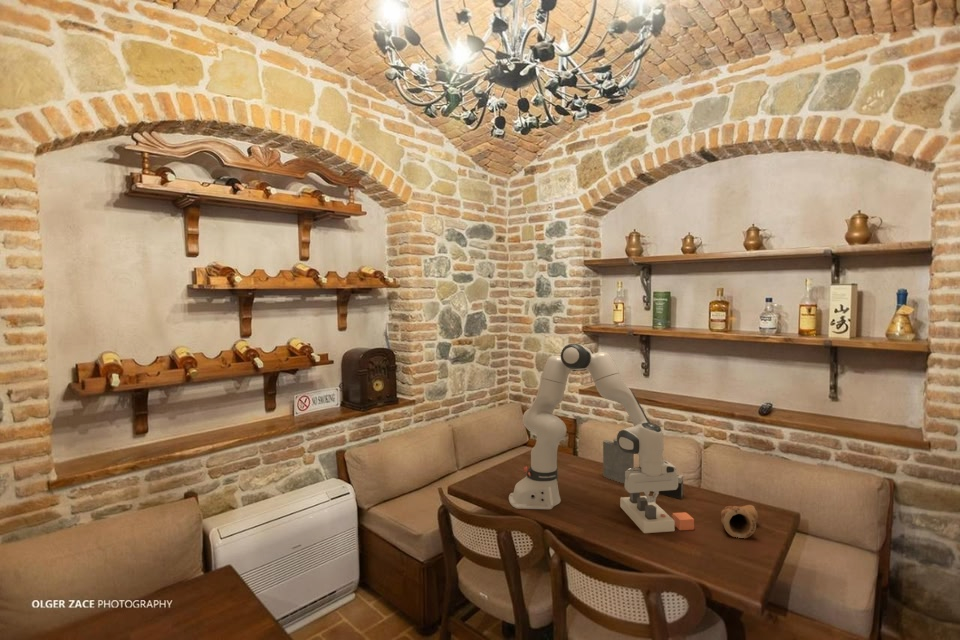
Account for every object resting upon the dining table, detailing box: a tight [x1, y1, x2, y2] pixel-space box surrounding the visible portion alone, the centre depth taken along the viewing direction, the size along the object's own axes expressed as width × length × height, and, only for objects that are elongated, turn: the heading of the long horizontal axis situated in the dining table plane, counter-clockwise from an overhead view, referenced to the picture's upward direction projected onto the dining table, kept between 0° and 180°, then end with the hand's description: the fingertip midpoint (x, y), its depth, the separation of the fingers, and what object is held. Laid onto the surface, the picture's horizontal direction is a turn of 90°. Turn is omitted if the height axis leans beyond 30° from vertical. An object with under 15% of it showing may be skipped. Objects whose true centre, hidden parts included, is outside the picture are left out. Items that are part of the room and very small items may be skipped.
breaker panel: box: [619, 495, 676, 534], centre depth 187 cm, size 12×22×4 cm, turn 6°
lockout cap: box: [671, 511, 695, 531], centre depth 181 cm, size 6×6×4 cm
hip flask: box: [602, 438, 635, 485], centre depth 225 cm, size 16×4×20 cm, turn 42°
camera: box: [651, 473, 684, 500], centre depth 211 cm, size 14×8×10 cm, turn 51°
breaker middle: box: [637, 497, 648, 511], centre depth 187 cm, size 3×3×4 cm
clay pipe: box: [720, 504, 759, 539], centre depth 177 cm, size 19×11×15 cm
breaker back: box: [629, 492, 641, 503], centre depth 194 cm, size 3×3×4 cm
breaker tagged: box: [645, 505, 656, 520], centre depth 180 cm, size 3×3×4 cm
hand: (651, 501), depth 180 cm, fingers closed
